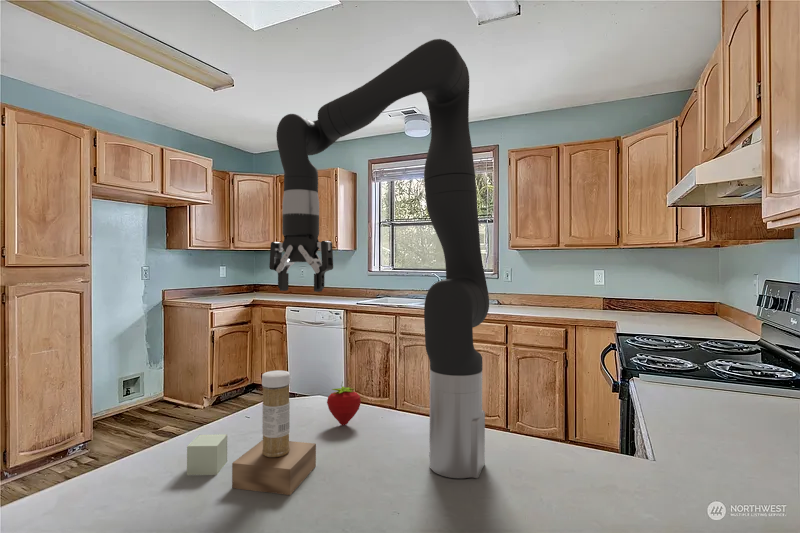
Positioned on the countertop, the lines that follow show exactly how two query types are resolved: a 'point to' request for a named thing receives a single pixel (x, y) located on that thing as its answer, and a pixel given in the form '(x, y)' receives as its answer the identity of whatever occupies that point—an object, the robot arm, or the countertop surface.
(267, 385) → the sprinkles bottle
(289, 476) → the walnut block
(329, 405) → the strawberry
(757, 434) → the countertop surface
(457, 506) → the countertop surface
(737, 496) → the countertop surface
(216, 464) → the sage cube
